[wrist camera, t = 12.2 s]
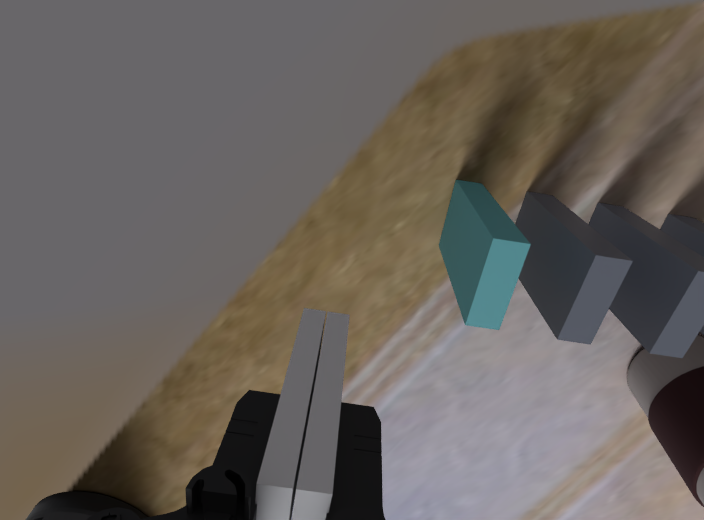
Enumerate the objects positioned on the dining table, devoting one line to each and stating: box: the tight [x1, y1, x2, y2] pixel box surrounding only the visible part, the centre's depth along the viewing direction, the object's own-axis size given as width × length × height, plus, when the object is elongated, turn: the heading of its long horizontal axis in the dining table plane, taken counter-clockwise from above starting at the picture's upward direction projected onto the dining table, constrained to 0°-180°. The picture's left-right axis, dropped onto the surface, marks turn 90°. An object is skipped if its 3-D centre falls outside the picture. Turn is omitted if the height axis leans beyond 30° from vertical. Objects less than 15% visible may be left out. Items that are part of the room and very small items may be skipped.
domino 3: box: [588, 203, 704, 358], centre depth 26 cm, size 2×5×10 cm, turn 172°
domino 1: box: [439, 180, 531, 330], centre depth 25 cm, size 2×5×10 cm, turn 172°
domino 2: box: [515, 191, 633, 344], centre depth 25 cm, size 2×5×10 cm, turn 172°
